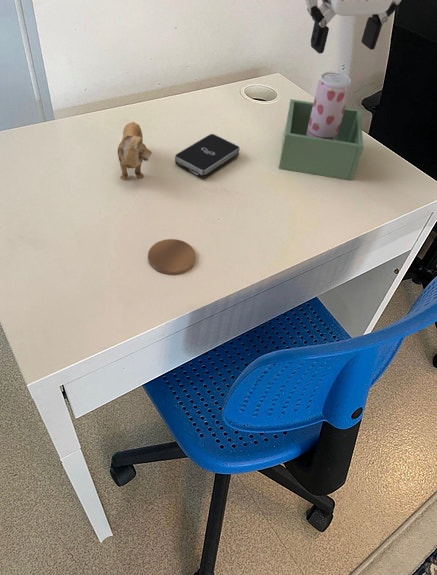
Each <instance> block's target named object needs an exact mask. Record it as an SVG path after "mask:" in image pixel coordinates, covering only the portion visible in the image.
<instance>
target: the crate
mask: <svg viewBox="0 0 437 575" xmlns="http://www.w3.org/2000/svg"><path fill="white" fill-rule="evenodd" d="M313 103H314V102H312V101H306V100H298V99H291V98H290V101H289V105H288V110H287V115H286V121H285V126H284V131H283V139H282V144H281V152H280V158H279V166H278V169H279V170H285V171H292V172H297V173H304V174H310V175H316V176H322V177H329V178H336V179H341V180H348V181H353V179H354V177H355V173H356V170H357V168H358V165H359V161H360V159H361V155H362V153H363V150H364V137H363V122H362V120H363V119H362V110H361V109H356V108H350V107H345V110H344V114H343V117H342V121H341V124H340V128H339V132H338V135H337V139H336V140H330V139H324V138H318V137H311V136H306V133H307V129H308V124H309V120H310V116H311V112H312V107H313Z"/></svg>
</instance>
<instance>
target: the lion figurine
mask: <svg viewBox="0 0 437 575" xmlns="http://www.w3.org/2000/svg"><path fill="white" fill-rule="evenodd" d="M121 138H122V139H121V141H120V143H119V144H118V147H117V156H118V161H119V166H120V170H121V175H120V179H121V180H122V181H127V180H128V179H129V173H128V169H134V174H135V177H136V179H142V178H144V174H143V173H142V170H141V168H142V164H143V161H144V162H145V163H146V162H149V158H150V157H151V156H152V154H153V151H151V150H150V149H149V148H148V147H147V146H146V144H145V143H144V140H143V139H144V138H143V131H142V128H141V126H140V124H138V123H136V122H134V121H131V122H128V123H127V124H126V125H125V126H124V128H123V131H122V137H121Z"/></svg>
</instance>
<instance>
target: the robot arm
mask: <svg viewBox="0 0 437 575" xmlns="http://www.w3.org/2000/svg"><path fill="white" fill-rule="evenodd" d="M321 2H322V3H321V4H320V6H318V5H319V4H318V0H305V4H306V6H307V7H306V9H307V10H306V11H307V12H308V14H309V15H310V17H311V18H312V21H313V27H312V33H311V37H310V47H311V48H312V49H313V50H314V51H315V52H316V53H318V54H323V53H324V52H325V48H326V43H327V39H328V35H329V32H330V28H329V26H328V25H329V23H330V22H331V21H332V20H333V18H334V17H335V16H336V15H338V16H340V17H351V16H368V18H367V20H366V24H365V27H364V30H363V34H362V37H361V43H362V45H364V46H365V47H366V48H367V49H369V50H370V51H371V50H375V49H376V45H377V42H378V39H379V37H380V34H381V30H382V27H383V25H385V24H386V23H387V22H388V19H389V17H390V16H391V15H392V14H393V13H394V12H396V11H397V8H398V5H400V3H401V2H402V0H321ZM370 15H371V16H370Z"/></svg>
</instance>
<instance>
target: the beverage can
mask: <svg viewBox="0 0 437 575" xmlns="http://www.w3.org/2000/svg"><path fill="white" fill-rule="evenodd" d="M351 88H352V80H351V78H350V76H348V75H347V74H344V73H341V72H336V71H326V72H323V73H322V74H321V75H320V77H319V80H318V83H317V87H316V91H315V95H314V99H313V102H312V103H313V107H312V112H311V116H310V120H309V124H308V129H307V133H306V136H311V137H318V138H324V139H330V140H336V139H337V135H338V132H339V128H340V124H341V121H342V117H343V114H344V110H345V108H346V107H347V104H348V103H347V102H348V99H349V95H350V92H351Z"/></svg>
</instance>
